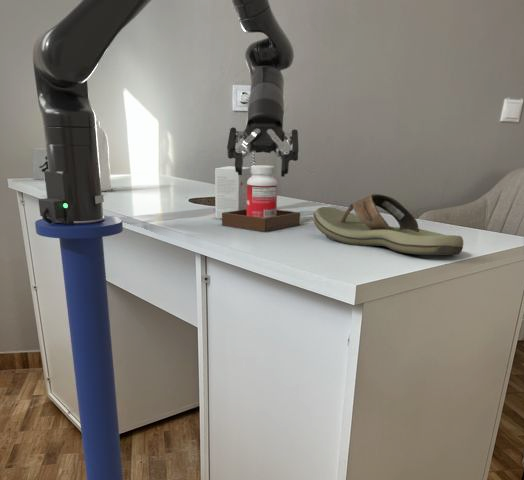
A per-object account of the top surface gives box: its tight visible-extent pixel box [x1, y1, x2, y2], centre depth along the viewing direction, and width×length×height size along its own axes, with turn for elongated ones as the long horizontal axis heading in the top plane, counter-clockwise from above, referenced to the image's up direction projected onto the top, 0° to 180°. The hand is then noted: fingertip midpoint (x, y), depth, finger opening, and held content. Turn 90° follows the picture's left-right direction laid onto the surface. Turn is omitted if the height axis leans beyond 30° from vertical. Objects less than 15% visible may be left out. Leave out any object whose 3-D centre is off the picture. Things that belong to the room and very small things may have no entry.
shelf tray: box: [221, 209, 301, 233], centre depth 114 cm, size 12×11×2 cm
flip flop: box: [312, 193, 464, 256], centre depth 95 cm, size 29×12×8 cm, turn 37°
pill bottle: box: [247, 164, 278, 218], centre depth 112 cm, size 6×6×11 cm
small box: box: [214, 165, 252, 220], centre depth 122 cm, size 8×6×10 cm
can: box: [95, 118, 112, 193], centre depth 164 cm, size 12×12×20 cm
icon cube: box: [30, 147, 49, 180], centre depth 199 cm, size 10×10×10 cm
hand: (261, 173), depth 109 cm, fingers open, 8 cm apart
